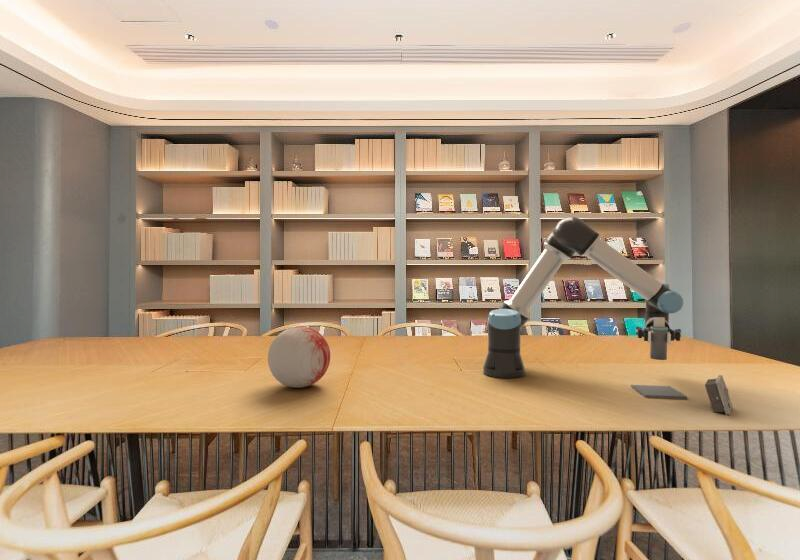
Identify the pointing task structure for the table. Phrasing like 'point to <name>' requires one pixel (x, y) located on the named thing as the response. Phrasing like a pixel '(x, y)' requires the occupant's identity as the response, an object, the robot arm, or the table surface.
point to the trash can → (658, 339)
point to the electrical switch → (718, 395)
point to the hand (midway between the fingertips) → (659, 338)
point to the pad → (658, 391)
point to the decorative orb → (298, 357)
